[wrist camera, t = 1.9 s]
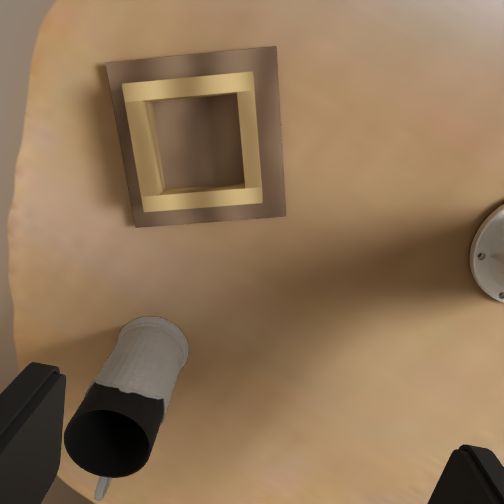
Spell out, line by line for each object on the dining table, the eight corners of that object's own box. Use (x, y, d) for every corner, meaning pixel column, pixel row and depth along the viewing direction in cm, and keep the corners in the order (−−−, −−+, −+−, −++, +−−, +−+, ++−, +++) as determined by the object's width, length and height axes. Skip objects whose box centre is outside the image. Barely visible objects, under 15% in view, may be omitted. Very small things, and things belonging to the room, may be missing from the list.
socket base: (276, 48, 37) (277, 38, 33) (285, 213, 42) (288, 224, 38) (110, 64, 38) (90, 57, 34) (138, 224, 43) (124, 237, 39)
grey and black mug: (196, 327, 47) (168, 417, 33) (169, 419, 51) (135, 534, 37) (124, 307, 46) (63, 390, 32) (103, 402, 51) (42, 513, 37)
